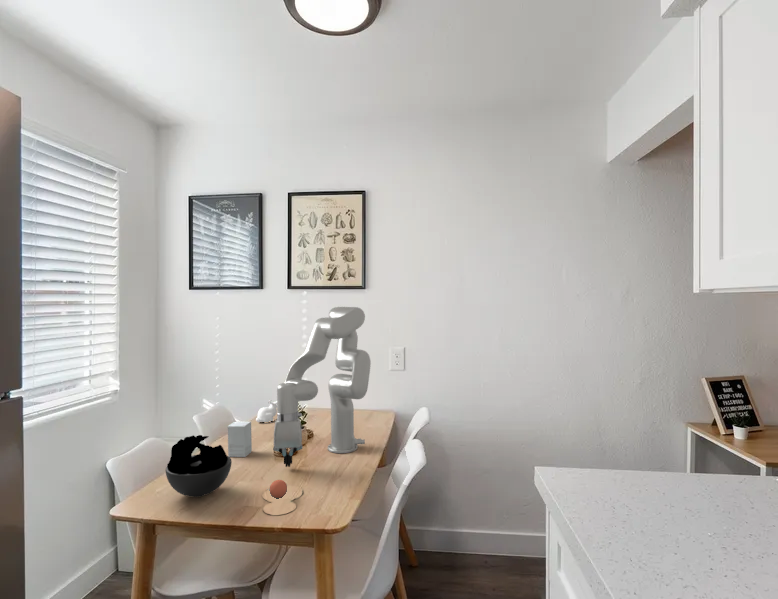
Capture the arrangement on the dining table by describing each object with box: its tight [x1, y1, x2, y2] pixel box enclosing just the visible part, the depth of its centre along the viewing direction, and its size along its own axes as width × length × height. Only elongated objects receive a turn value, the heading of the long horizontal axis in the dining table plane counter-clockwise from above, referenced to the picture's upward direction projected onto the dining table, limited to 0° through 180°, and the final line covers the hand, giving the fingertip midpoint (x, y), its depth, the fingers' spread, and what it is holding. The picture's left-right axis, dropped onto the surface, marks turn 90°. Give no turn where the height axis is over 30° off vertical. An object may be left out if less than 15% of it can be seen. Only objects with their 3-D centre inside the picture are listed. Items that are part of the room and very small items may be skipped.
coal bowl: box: [165, 434, 233, 498], centre depth 151 cm, size 20×20×19 cm
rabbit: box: [255, 398, 277, 423], centre depth 238 cm, size 12×9×12 cm
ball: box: [268, 479, 288, 499], centre depth 148 cm, size 6×6×6 cm
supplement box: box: [227, 421, 253, 458], centre depth 189 cm, size 7×7×13 cm
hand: (288, 465), depth 172 cm, fingers closed
